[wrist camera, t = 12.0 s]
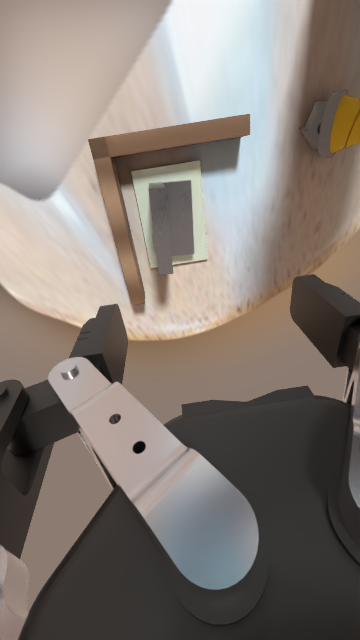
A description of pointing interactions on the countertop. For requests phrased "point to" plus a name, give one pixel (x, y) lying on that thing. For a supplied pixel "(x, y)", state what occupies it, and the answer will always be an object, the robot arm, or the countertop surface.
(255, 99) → the countertop surface
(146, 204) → the mat
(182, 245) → the angle bracket
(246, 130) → the corner walls
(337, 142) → the yellow spiral cone
